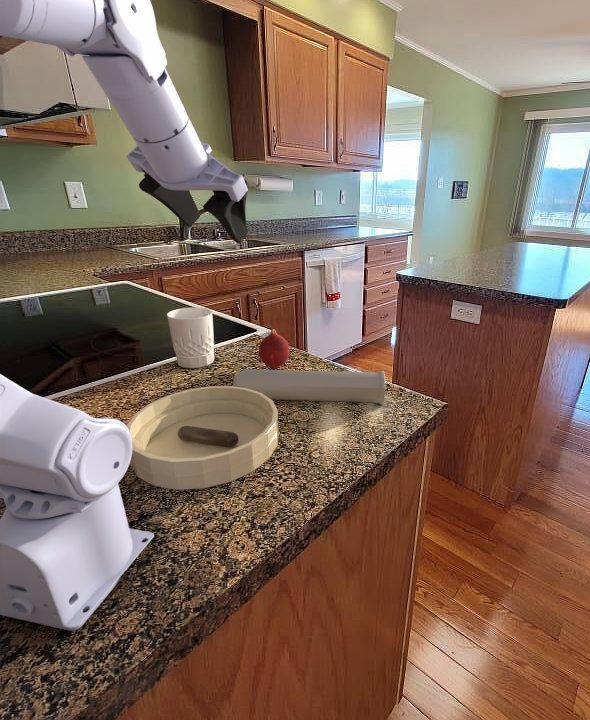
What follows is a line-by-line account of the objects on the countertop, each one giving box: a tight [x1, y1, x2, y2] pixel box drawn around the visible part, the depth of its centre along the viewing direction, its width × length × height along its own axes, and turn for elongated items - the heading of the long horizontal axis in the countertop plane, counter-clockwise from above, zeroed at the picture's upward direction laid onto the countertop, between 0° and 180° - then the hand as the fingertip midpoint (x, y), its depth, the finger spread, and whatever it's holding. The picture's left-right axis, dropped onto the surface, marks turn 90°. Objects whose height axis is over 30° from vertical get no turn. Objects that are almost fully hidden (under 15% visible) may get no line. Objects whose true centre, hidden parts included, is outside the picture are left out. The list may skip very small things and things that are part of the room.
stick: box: [178, 426, 239, 447], centre depth 53 cm, size 8×2×2 cm, turn 80°
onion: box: [258, 328, 291, 370], centre depth 76 cm, size 6×6×8 cm
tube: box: [232, 368, 386, 406], centre depth 66 cm, size 5×5×25 cm
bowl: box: [125, 385, 280, 491], centre depth 52 cm, size 18×18×4 cm
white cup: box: [166, 306, 215, 369], centre depth 76 cm, size 8×8×10 cm
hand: (217, 229), depth 51 cm, fingers open, 7 cm apart
